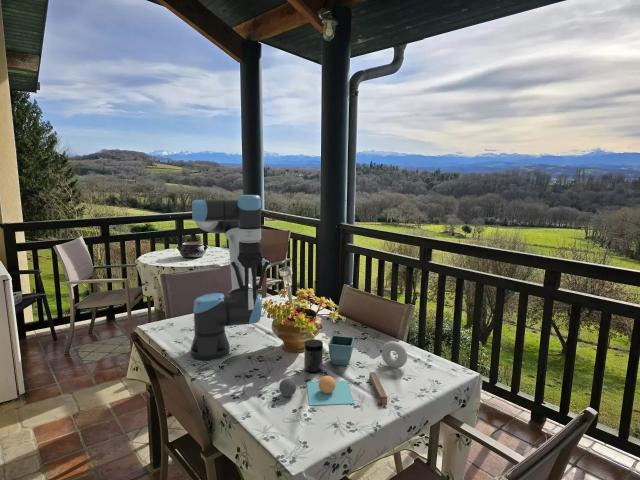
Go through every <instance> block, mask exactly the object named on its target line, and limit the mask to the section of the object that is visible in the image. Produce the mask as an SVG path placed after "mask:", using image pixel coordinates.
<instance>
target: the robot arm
mask: <svg viewBox="0 0 640 480" xmlns="http://www.w3.org/2000/svg"><path fill="white" fill-rule="evenodd" d="M191 211H192V212H191V214H192V218H191V219H192V220H193V222H195V225H196V226H197V227H198V228H199V229H200V230H202V231H204V232H207V233H211V234H224V238H225V239H226V240H227V241H228V251H229V263H230V264H229V265H230V278H231V290H229V292H228V296H225V295H224V293H223V292H211V293H210V292H209V293H207V294H206V293H205V294H202V295H200V296H198V297H197V298H196V299H195V300H194V302H193V320H194V321H193V322H194V326H193V327H194V328H193V330H194V336H193V340H192V343H191V346H190V356H191V358H193V359H195V360H198V361H213V360H214V361H215V360H218V359H221V358H223V357H225V356H227V355H229V353H230V351H231V348H230V347H231V345H230V342H229V339H228V337H227V334H226V330H225V329H226V327H233V326H243V325H244V326H245V325H252V324H257V323H259V322H260V320H261V318H262V311H263V308H262V307H263V297H262V294H260V293H258V290H260V289H262V286H263V283H264V278H265V274H266V269H267V267H268V266H269V265H270V261H269V260H266V259H265V258H264V257H263V256H264V255H263V254H262V242H261V240H262V201H261V196H260V195H258V194H241V195H238V198H237V199H195V200H193V201H192V202H191ZM260 264H261V265H262V268H261V273H260V277H259V281H258V283H257V268H258V267H259V265H260Z"/></svg>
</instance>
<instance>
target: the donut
mask: <svg viewBox="0 0 640 480" xmlns="http://www.w3.org/2000/svg"><path fill="white" fill-rule="evenodd" d="M392 351H393V352H396V354H397V358H394V357H393V356H392V353H391V352H392ZM381 357H382V359H383V362H384V363H385V364H386V365H387V366H388V367H390V368H392V369H399V368H402V367H403V366H404V365H406V363H407V361H408V353H407V350H406V348H405V347H404V345H402V344H401V343H400V342H397V341H393V340H391V341H387V342H385V344H383V346H382V348H381Z"/></svg>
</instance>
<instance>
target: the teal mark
mask: <svg viewBox="0 0 640 480" xmlns="http://www.w3.org/2000/svg"><path fill="white" fill-rule="evenodd" d="M335 384H336V386H335V389H334V391H333V392H331V393H329V394H325V393H323V392H322V391H321V390H320V389H319V381H307V382H306V387H307V396H308V404H309V405H308V406H310V407H313V406H331V405H333V406H334V405H335V406H336V405H337V406H338V405H355V404H356V403H355V400H354V396H353V393H352V390H351V388H350V385H349V381H348V380H335Z"/></svg>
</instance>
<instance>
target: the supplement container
mask: <svg viewBox="0 0 640 480" xmlns="http://www.w3.org/2000/svg"><path fill="white" fill-rule="evenodd" d="M303 344H304V346H303V348H304V350H303V351H304V354H303V355H304V358H303V359H304V363H303V364H304V367H303V369H304V371H305V372H306V373H308V374H310V375H314V374H316V375H317V374H319V373H321V372H322V371H323V363H324V362H323V359H324V358H323V356H324V355H323V354H324V353H323V350H324V342H323V341H322V340H320V339H307V340H305V341H304V343H303Z"/></svg>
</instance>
